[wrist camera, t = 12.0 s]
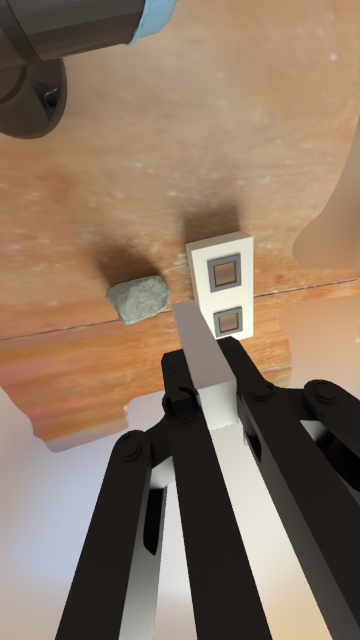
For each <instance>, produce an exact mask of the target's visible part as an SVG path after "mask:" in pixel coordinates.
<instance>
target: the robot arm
mask: <svg viewBox="0 0 360 640" xmlns="http://www.w3.org/2000/svg"><path fill="white" fill-rule="evenodd" d="M176 1H177V0H0V132H1V133H3V134H6V135H8V136H11V137H15V138H19V139H35V138H39V137H42V136H44V135H46V134H48V133H49V132H50V131H52V130H53V129H54V128H55V127H56V125H57V124H58V123H59V121H60V119H61V117H62V115H63V112H64V109H65V105H66V99H67V79H66V73H65V67H64V63H63V60H62V57H66V56H70V55H75V54H79V53H83V52H88V51H92V50H97V49H101V48H105V47H110V46H114V45H118V44H123V45H131V44H132V43H135V41H136V40H137V39H139V38H142V37H145V36H148V35H152V34H155V33H158V32H159V31H160V30H161V29H162V28H164V27H165V26H166V24H167V23H168V21H169V20H170V18H171V16H172V13H173V11H174V8H175V5H176ZM171 308H172V312H173V316H174V321H175V325H176V329H177V333H178V337H179V341H180V345H181V348H182V349H180V350H176V351H172V352H168V353H164V355H163V357H162V360H161V365H162V372H163V379H164V386H165V395H164V397H163V399H162V406H163V409H164V412H165V415H164V417H163V418H162V420H161V421H160V422H159V423H157V424H156V425H155V426H153V427H152V428H150V429H148V430H147V431H145V432H143V431H140V430H133V431H128V432H127V433H125V434H124V435H122V436H121V437H120V438H119V439H118V440H117V442H116V443H115V445H114V448H113V450H112V453H111V456H110V459H109V463H108V466H107V469H106V473H105V476H104V479H103V483H102V486H101V489H100V492H99V496H98V499H97V502H96V506H95V509H94V512H93V515H92V519H91V522H90V525H89V529H88V532H87V535H86V538H85V542H84V545H83V549H82V552H81V555H80V558H79V562H78V565H77V568H76V571H75V575H74V578H73V582H72V585H71V588H70V591H69V595H68V598H67V601H66V605H65V608H64V611H63V614H62V618H61V621H60V624H59V627H58V631H57V634H56V637H55V640H153V638H154V627H155V615H156V605H157V594H158V584H159V572H160V561H161V551H162V540H163V528H164V517H165V507H166V496H167V485H168V484H169V483H171V482H172V481H173V480H176V487H177V494H178V502H179V508H180V516H181V524H182V530H183V538H184V545H185V552H186V560H187V567H188V574H189V582H190V589H191V596H192V604H193V611H194V618H195V624H196V633H197V640H272V636H271V634H270V630H269V626H268V623H267V620H266V616H265V613H264V610H263V607H262V603H261V601H260V597H259V593H258V590H257V587H256V584H255V580H254V577H253V574H252V570H251V567H250V564H249V560H248V557H247V554H246V551H245V547H244V544H243V541H242V538H241V534H240V531H239V528H238V524H237V521H236V518H235V515H234V511H233V508H232V505H231V501H230V498H229V495H228V491H227V488H226V485H225V481H224V478H223V475H222V472H221V468H220V465H219V462H218V458H217V455H216V452H215V448H214V445H213V442H212V438H211V435H210V432H209V431H210V430H214V429H217V428H221V427H224V426H228V425H232V424H235V423H239V418H240V420H241V422H242V425H243V435H244V444H245V446H246V445H249V447H250V450H251V452H252V454H253V457H254V459H255V461H256V464H257V466H258V468H259V470H260V473H261V475H262V477H263V480H264V482H265V484H266V487H267V489H268V491H269V494H270V496H271V498H272V501H273V503H274V505H275V507H276V510H277V512H278V514H279V517H280V519H281V521H282V524H283V526H284V528H285V531H286V533H287V535H288V538H289V540H290V542H291V544H292V547H293V549H294V551H295V554H296V556H297V558H298V561H299V563H300V565H301V567H302V570H303V572H304V575H305V577H306V579H307V581H308V584H309V586H310V588H311V591H312V593H313V595H314V598H315V600H316V602H317V605H318V607H319V609H320V611H321V614H322V616H323V618H324V621H325V623H326V625H327V628H328V630H329V632H330V635H331V637H332V639H333V640H360V400H358V399H357V398H355V397H354V396H352V395H351V394H350V393H348V392H347V391H346V390H344V389H343V388H341V387H340V386H338V385H336V384H334V383H332V382H330V381H326V380H312V381H309V382H308V383H307V384H306V385H304V389H291V388H280V387H277V386H275V385H274V384H273V383H271V382H269V381H267V380H265V379H264V378H263V376H262V375H261V373H260V372H259V370H258V369H257V367H256V366H255V364H254V363H253V361H252V360H251V358H250V357H249V355H247V352H246V351H245V349H244V348H243V346H242V345H241V343H240V342H239V341H238V340H237V339H235V338H234V337H232V336H227V337H224V338H220V339H215V338H214V336H213V334H212V332H211V330H210V328H209V326H208V324H207V322H206V320H205V318H204V316H203V315H202V313H201V311H200V309H199V307H198V305H197V303H196V301H195V299H194V300H190V301H186V302H182V303H178V304H174V305H171ZM238 417H239V418H238Z"/></svg>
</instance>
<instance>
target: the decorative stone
mask: <svg viewBox="0 0 360 640" xmlns="http://www.w3.org/2000/svg"><path fill="white" fill-rule="evenodd" d="M170 294H171V292H170V289H169V288H168V287H167V285H166V283H165V281H164V279H163V278H162V277H160V276H149V277H141V278H139V279H136V280H131V281H128V282H124V283H119V284H115V285H114V287H110V288H108V289H107V293H106V296H105V297H106V298H107V299H108V301H109V302H110V303H111V304H112V305H113V306H114V307H115V309H116V311H117V313H118V315H119V318H120V319H121V320H122V322H123V323H124V324H126V325H128V324H132V323H135V322H138V321H140V320H142V319H144V318H147V317H151V316H154V315H155V314H156V313H158V312H159V311H162V310H164V309H165V308H166V306H167V303H168V301H169V299H170Z"/></svg>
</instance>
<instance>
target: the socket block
mask: <svg viewBox="0 0 360 640" xmlns="http://www.w3.org/2000/svg"><path fill="white" fill-rule="evenodd" d="M185 246H186V252H187V258H188V264H189V270H190V276H191V282H192V288H193V294H194V299H195V301H196V303H197V305H198V307H199V309H200V311H201V313H202V315H203V316H204V318H205V320H206V322H207V324H208V326H209V328H210V330H211V332H212V334H213V336H214V338H215V339H220V338H224V337H227V336H232V337H234V338H235V339H237V340H240V339H244V338H247V337H251V336H253V236H251V235H249V234H246V233H244V232H242V231H237V232H233V233H229V234H225V235H221V236H216V237H212V238H208V239H204V240H199V241H195V242H191V243H187V244H185ZM232 261H233V262H234V274H235V281H231V282H227V283H223V284H219V285H216V284H215V279H214V269H213V266H216V265H220V264H224V263H228V262H232ZM234 313H236V315H237V327H236V328H232V329H229V330H225V331H220V327H219V318H218V317H222V316H226V315H230V314H234Z"/></svg>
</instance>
